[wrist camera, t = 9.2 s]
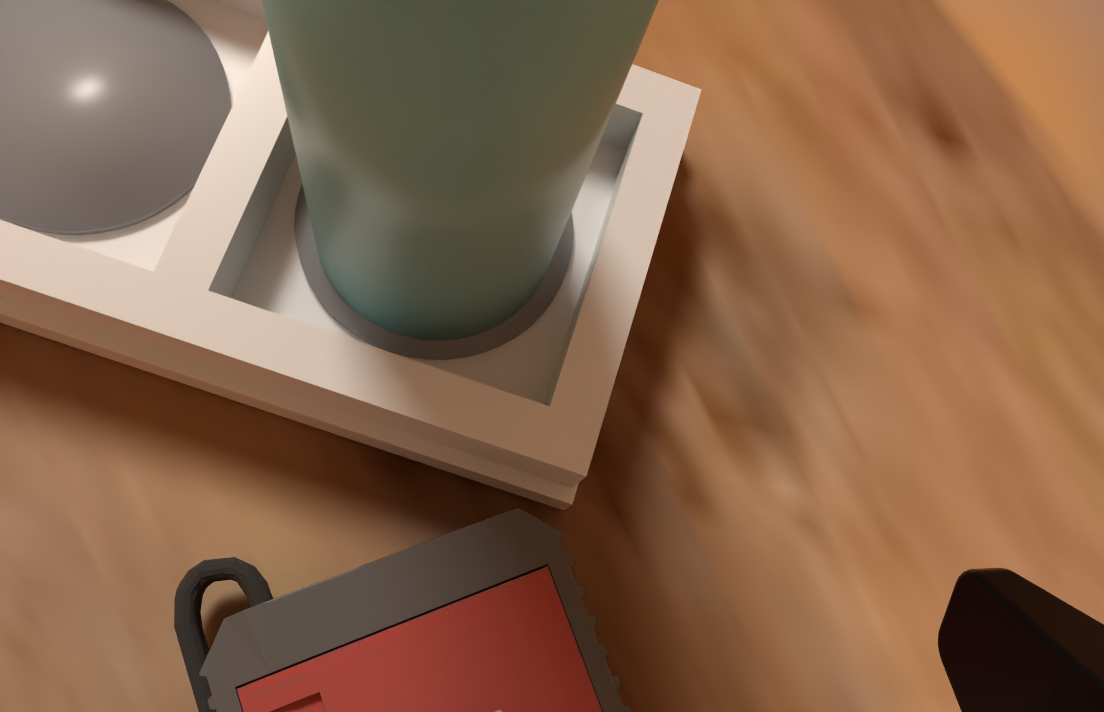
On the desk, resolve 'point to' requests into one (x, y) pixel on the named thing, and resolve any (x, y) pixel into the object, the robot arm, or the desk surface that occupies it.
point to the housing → (293, 245)
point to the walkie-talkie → (408, 632)
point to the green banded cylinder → (447, 143)
